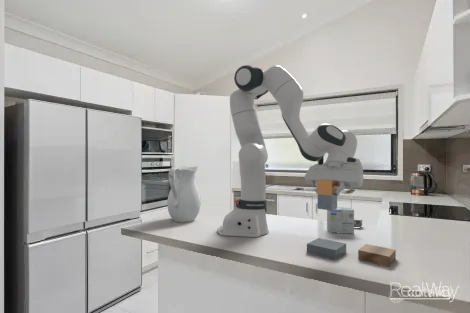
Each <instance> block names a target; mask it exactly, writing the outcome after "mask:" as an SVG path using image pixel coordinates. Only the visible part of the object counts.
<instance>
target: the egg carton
mask: <svg viewBox="0 0 470 313" xmlns="http://www.w3.org/2000/svg"><path fill="white" fill-rule="evenodd" d="M361 226H362V227H363V219H354V227H360V228H361V229H362V227H361Z"/></svg>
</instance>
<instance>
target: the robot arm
mask: <svg viewBox="0 0 470 313" xmlns="http://www.w3.org/2000/svg"><path fill="white" fill-rule="evenodd" d="M233 79H234V83H235V85H236V87H237V88H238V89H236V90H235V91H233V92H232V93H231V94H230V96H229V106H230V107H229V109H230V114H231V118H232V122H233V123H232V124H233V127H234V131H235V136H236V137H237V139H238V142H239V145H240V147H241V148H240V149H239V151H238V161H239V162H238V163H239V173H240V175H239V176H240V198H239V199H238V198H236V199H234V203H235V208H234V209H232V210H231V211H229V213H227V214H225V216H224V219H223V221H222V225H220V226H218V228H217V233H218V234H219V235H221V236H230V237H247V238H258V237H260V236H264V235H268V234H269V232H270V231H269V226H268V223H267V222H268V220H267V209H268V201H267V199H266V198H267V197H266V195H267V190H266V188H267V181H266V180H267V179H266V163H267V161H268V156H269V154H268V150H267V147H266V143H265V140H264V136H263V133H262V130H261V127H260V123H259V119H258V114H257V111H256V110H257V109H256V107H255V100H259V99H260V98H262V97H263V96H264V95H266V94H267V93H270V95H272V97H273V98H274V99H275V101H276V102H277V105H278V106H279V108H280V112H281V117H282V119H283V121H284V124H285V125H286V127H287V128H288V130H289V132H290V134H291V135H292V137H293V139H294V141H295V143H296V144H297V147H298V149H299V152H300V154H301V155H302V157H303V158H304V159H305V160H306V161H310V162H318V161H320V160H322V158H324V156H326V154H328V156H327V158H326V160H325V162H324V164H316V163H315V164H314V165H311V166H310V167H309V168H308V170H307V171H306V173H305V175H304V176H303V177H304V181H305V183H306V184H307V185H311V186H316V187H315V193H316V194H317V195H318V180H321V179H325V180H336V181H337V189H336V188H335V189H334V192H333V193H334V195H337V197H338V196H340V193H341V192H343V191H344V190H345V189H346V188H351V189H360V188H362V186H363V185H364V184H363V183H364V174H363V173H364V168H363V165H362V162H361V159H359V158H356V157H355V154H356V151H357V147H358V139H357V137H356V134H354V133H353V132H351V131H349V130H341V129H339V128H338V127H337V126H335V125H333V124H330V123H321V124H320V125H319V124H318V126H317V127H316V128H315V129H314V130H313V131H312V133H310V134H309V133H308V131H307V129H306V128H305V126H304V125H303V123H302V121H301V118H300V112H301V108H302V104H303V101H304V91H303V89H302V86H301V85H300V84H299V82H298V81H297V80H296V79H295V78H294V76H292V75H291V73H290V72H288V71H287V70H286V69H285V68H284V67H283V66H281V65H273V66H270V67H269V68H268V69H267V70H265V71H263V69H262V68H260V67H256V66H253V65H247V64H246V65H242V66H240V67H238V68H237V69H236V71H235V73H234V78H233Z"/></svg>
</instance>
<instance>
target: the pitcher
mask: <svg viewBox="0 0 470 313" xmlns="http://www.w3.org/2000/svg"><path fill="white" fill-rule="evenodd" d="M198 169H199V167H198V166H185V165H180V166H178V167H171V168H170V169H169V170H168V184H169V187H170V190H169V193H168V196H167V206H166V207H167V211H168V214H169V216H170V218H171V220H172V221H173V222H176V223H190V222H193V221H195V220H196V218H198V214H199V213H200V210H201V204H202V203H201V202H202V201H201V194H200V190H199V188H198V185H197V182H196V176H195V175H196V172H197V170H198Z"/></svg>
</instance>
